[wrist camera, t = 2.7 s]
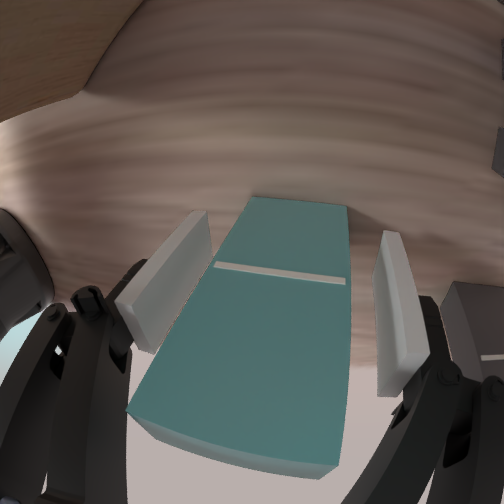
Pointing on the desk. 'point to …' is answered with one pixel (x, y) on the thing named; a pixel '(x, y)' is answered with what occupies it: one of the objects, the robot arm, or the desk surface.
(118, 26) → the block
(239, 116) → the desk surface
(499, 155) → the domino
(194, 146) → the desk surface
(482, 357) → the domino
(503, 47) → the domino
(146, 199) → the desk surface
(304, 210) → the domino
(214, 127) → the desk surface
